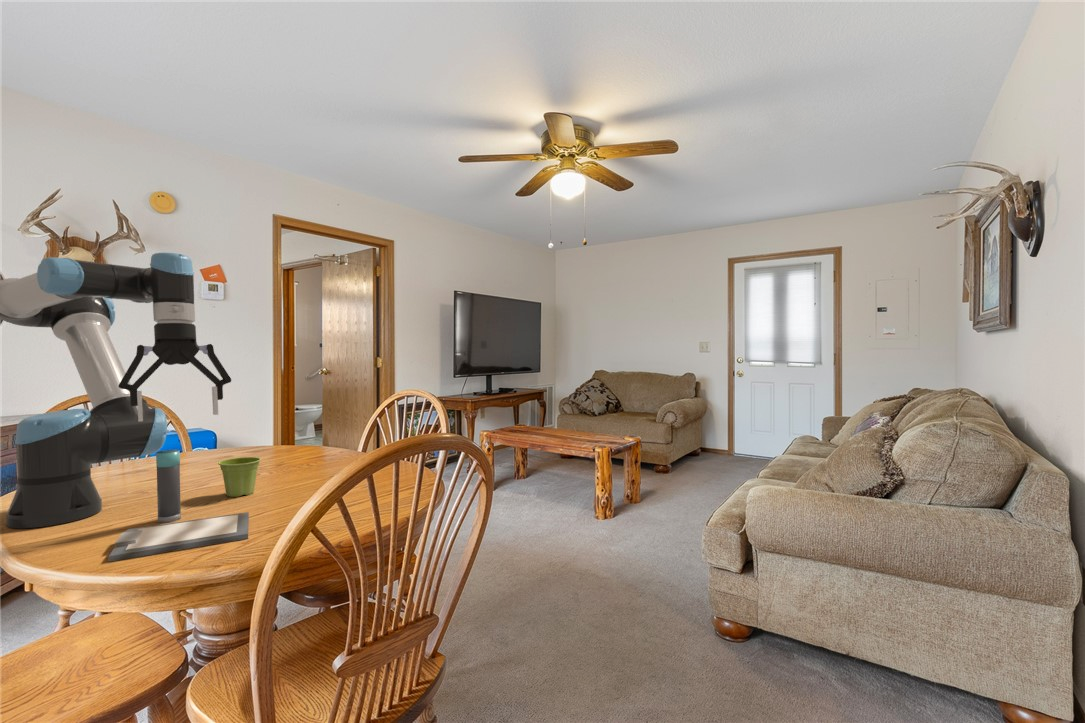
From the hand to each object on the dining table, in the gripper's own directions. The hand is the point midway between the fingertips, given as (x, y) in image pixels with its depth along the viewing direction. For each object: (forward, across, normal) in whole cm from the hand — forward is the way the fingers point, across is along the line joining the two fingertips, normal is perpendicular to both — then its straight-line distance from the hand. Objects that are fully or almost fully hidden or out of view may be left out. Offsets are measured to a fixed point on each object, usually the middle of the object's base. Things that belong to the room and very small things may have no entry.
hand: (179, 417), depth 111 cm
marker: (+22, -3, -1) cm, 22 cm away
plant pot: (+22, +12, +11) cm, 28 cm away
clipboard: (+23, 0, -16) cm, 28 cm away
